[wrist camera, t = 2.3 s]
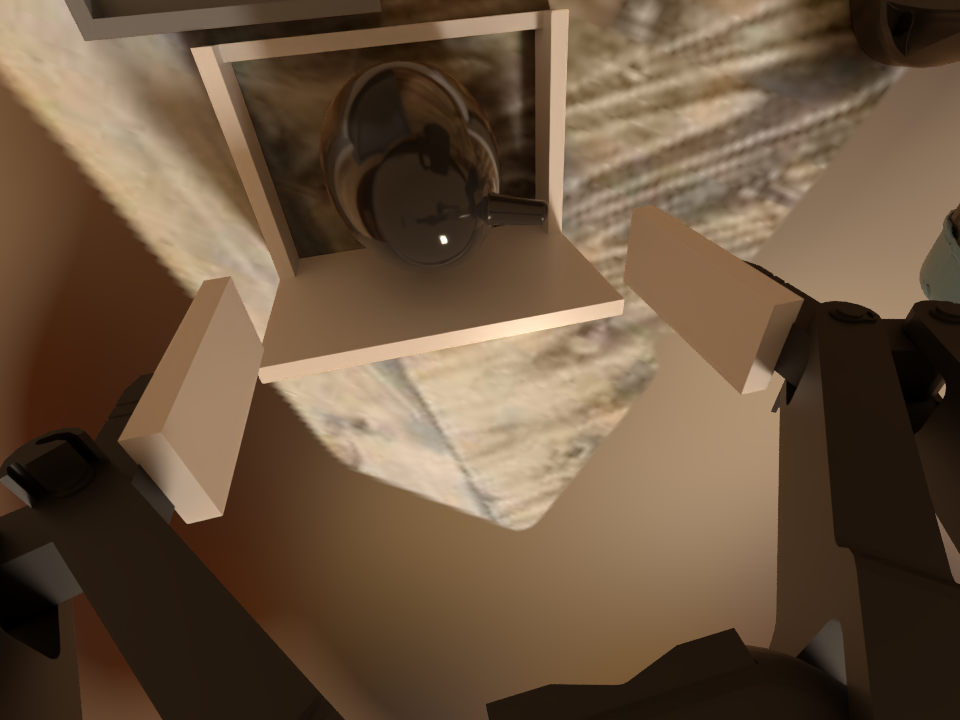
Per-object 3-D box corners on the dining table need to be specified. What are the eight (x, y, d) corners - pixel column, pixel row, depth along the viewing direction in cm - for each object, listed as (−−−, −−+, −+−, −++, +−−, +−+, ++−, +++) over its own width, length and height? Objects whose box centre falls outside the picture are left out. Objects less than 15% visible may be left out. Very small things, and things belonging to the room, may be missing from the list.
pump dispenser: (480, 217, 35) (546, 323, 23) (338, 225, 33) (328, 345, 21) (484, 55, 28) (576, 85, 17) (309, 53, 26) (272, 85, 15)
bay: (550, 9, 28) (664, 6, 18) (547, 230, 36) (622, 314, 26) (205, 45, 25) (105, 65, 15) (290, 273, 34) (262, 383, 24)
